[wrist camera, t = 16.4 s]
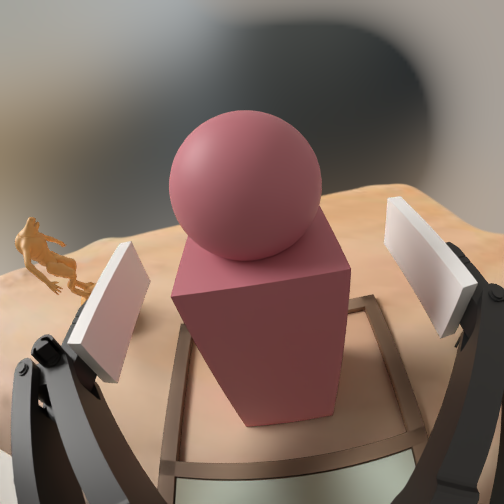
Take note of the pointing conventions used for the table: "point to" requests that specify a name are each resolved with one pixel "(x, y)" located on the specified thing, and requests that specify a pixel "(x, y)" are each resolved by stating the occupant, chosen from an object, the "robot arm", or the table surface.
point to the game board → (304, 487)
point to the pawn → (260, 267)
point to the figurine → (49, 260)
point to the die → (9, 480)
